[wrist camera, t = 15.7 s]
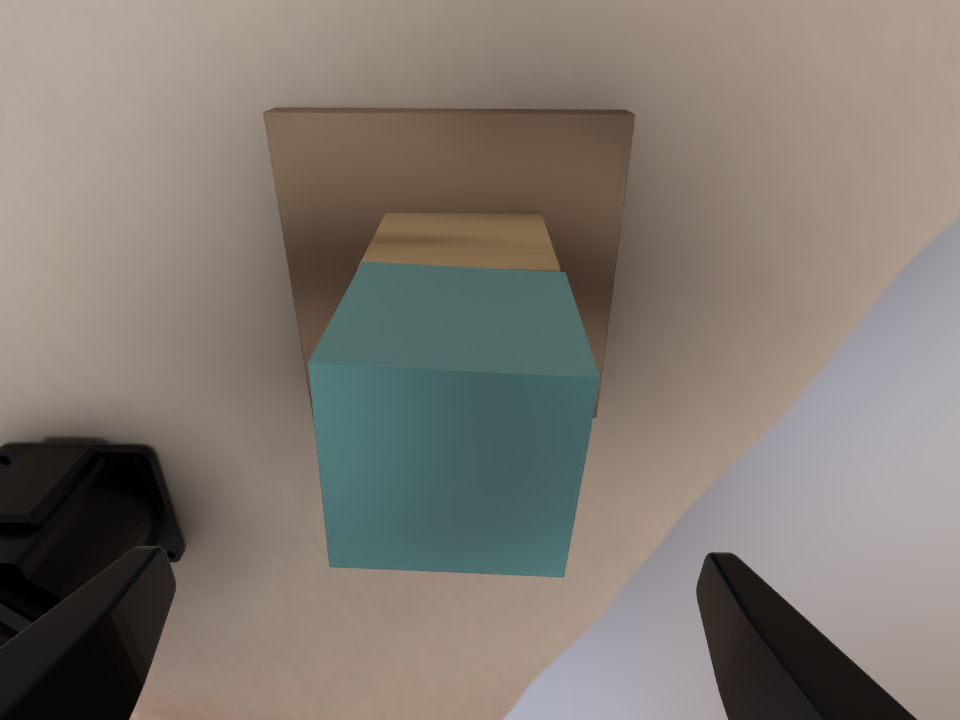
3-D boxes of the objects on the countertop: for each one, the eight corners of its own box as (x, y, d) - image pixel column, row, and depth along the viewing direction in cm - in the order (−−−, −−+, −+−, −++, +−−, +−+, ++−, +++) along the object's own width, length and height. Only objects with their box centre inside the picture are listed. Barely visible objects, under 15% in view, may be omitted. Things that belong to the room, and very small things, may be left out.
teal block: (543, 435, 17) (563, 577, 12) (369, 427, 17) (329, 566, 12) (565, 272, 14) (599, 377, 10) (362, 261, 14) (307, 362, 10)
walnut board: (587, 390, 25) (596, 418, 23) (324, 390, 24) (313, 418, 23) (620, 106, 19) (635, 114, 17) (282, 104, 19) (263, 112, 17)
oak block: (533, 350, 21) (547, 433, 17) (395, 349, 21) (374, 432, 17) (541, 213, 19) (560, 269, 14) (385, 212, 19) (357, 268, 14)
